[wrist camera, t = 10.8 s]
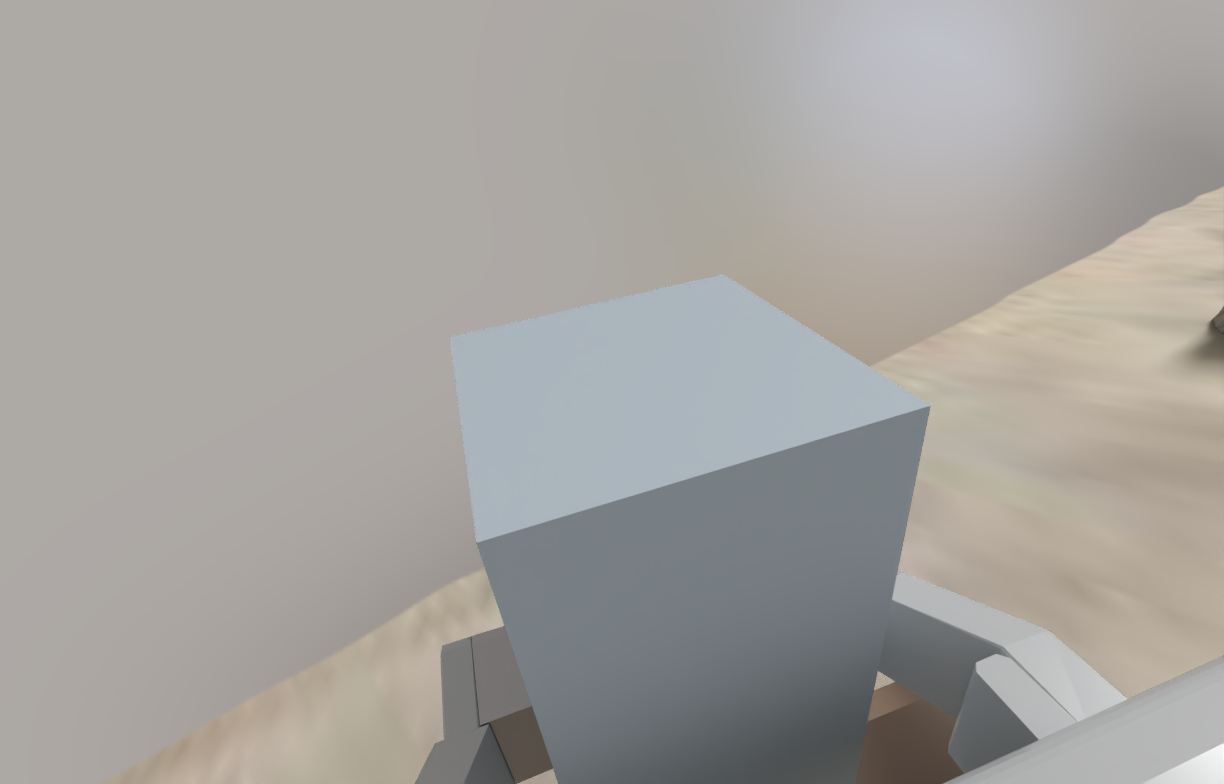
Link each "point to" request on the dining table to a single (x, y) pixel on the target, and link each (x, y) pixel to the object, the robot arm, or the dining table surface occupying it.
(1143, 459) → the dining table surface
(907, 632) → the robot arm
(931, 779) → the stand
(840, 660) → the pillar
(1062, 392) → the dining table surface
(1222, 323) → the ceramic cottage
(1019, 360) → the dining table surface
